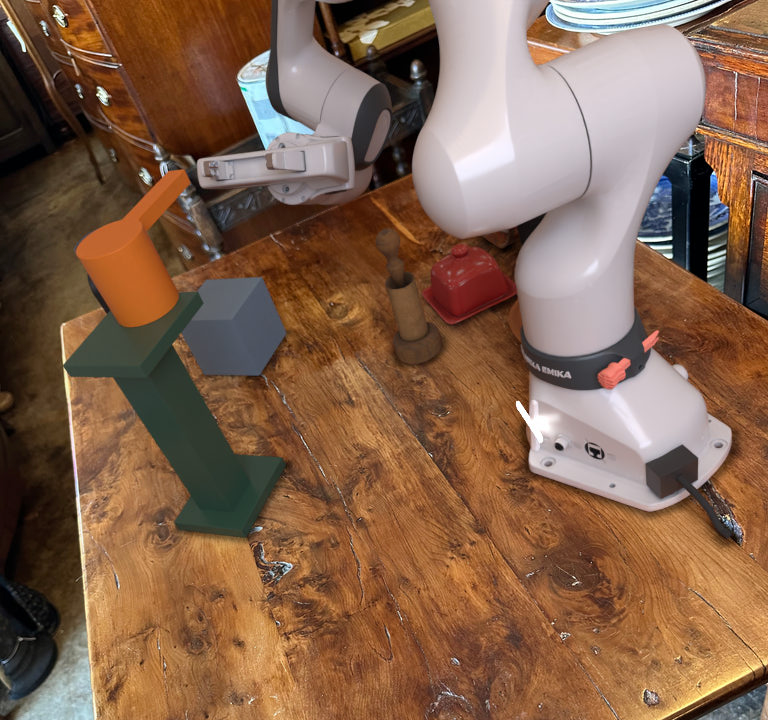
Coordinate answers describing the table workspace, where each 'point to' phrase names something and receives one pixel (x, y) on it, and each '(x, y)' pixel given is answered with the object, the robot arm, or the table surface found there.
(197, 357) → the slate grey cube
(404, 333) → the mortar and pestle
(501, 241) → the tin
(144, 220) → the measuring cup
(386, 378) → the table surface
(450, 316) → the butter dish
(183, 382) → the shelf stand
